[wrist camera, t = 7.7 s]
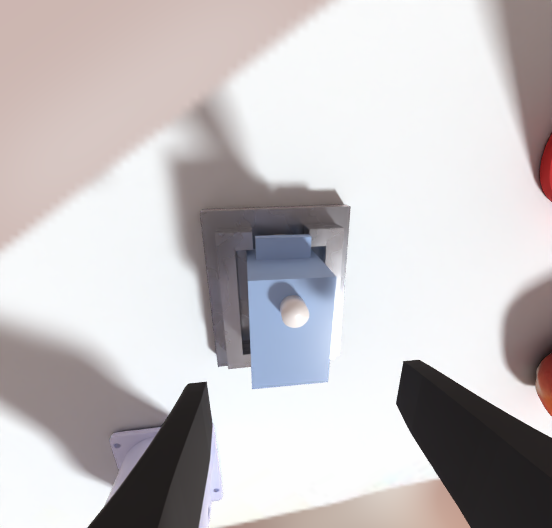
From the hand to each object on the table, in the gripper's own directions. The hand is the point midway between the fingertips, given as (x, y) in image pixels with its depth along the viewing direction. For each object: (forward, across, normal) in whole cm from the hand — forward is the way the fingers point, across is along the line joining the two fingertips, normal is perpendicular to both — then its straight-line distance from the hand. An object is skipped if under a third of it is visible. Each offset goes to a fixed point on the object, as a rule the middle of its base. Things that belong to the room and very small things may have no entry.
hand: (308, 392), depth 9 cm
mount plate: (+9, 0, 0) cm, 9 cm away
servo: (+8, 0, 0) cm, 8 cm away
